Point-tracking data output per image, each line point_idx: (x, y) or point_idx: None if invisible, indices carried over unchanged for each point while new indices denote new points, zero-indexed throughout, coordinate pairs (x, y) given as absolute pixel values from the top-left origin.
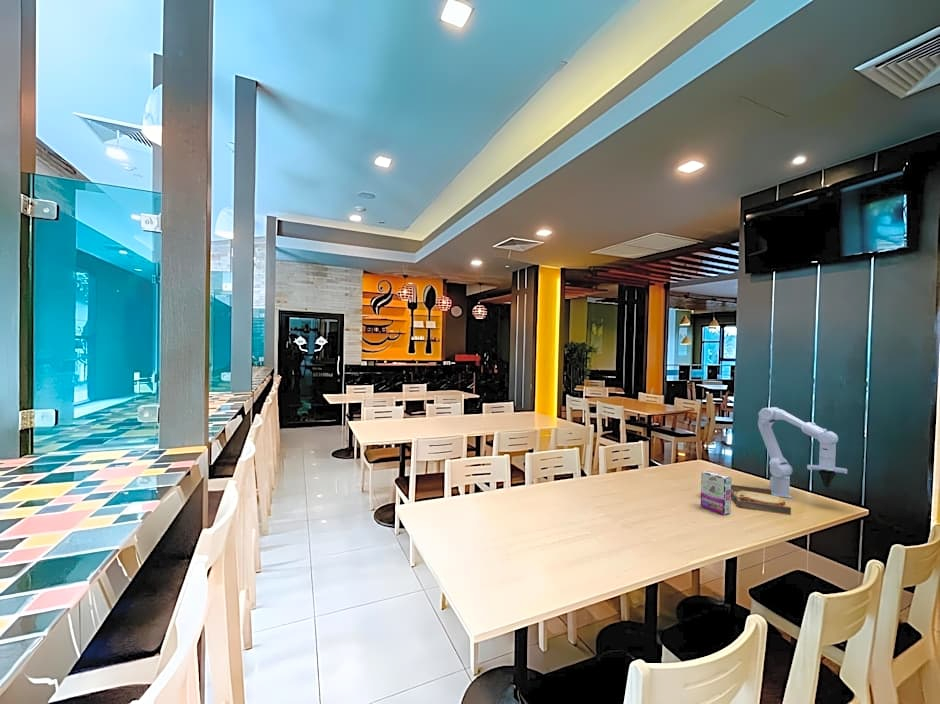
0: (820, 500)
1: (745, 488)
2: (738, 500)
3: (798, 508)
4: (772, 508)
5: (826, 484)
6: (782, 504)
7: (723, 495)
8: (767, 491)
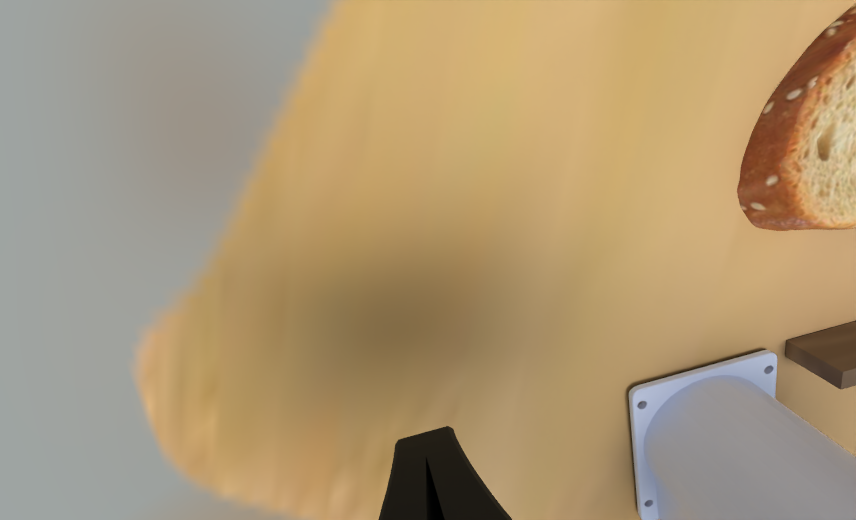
0: None
1: None
2: None
3: (661, 79)
4: None
5: (447, 459)
6: (808, 66)
7: None
8: (853, 351)
